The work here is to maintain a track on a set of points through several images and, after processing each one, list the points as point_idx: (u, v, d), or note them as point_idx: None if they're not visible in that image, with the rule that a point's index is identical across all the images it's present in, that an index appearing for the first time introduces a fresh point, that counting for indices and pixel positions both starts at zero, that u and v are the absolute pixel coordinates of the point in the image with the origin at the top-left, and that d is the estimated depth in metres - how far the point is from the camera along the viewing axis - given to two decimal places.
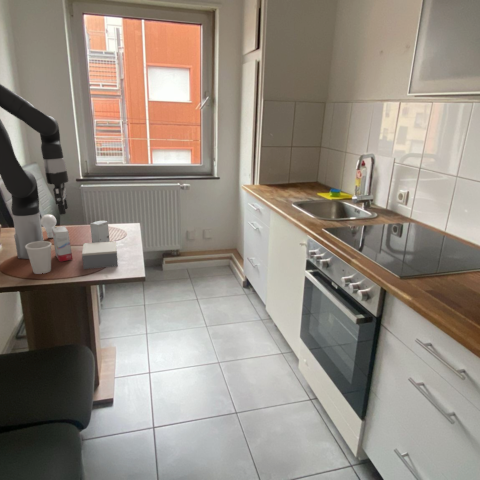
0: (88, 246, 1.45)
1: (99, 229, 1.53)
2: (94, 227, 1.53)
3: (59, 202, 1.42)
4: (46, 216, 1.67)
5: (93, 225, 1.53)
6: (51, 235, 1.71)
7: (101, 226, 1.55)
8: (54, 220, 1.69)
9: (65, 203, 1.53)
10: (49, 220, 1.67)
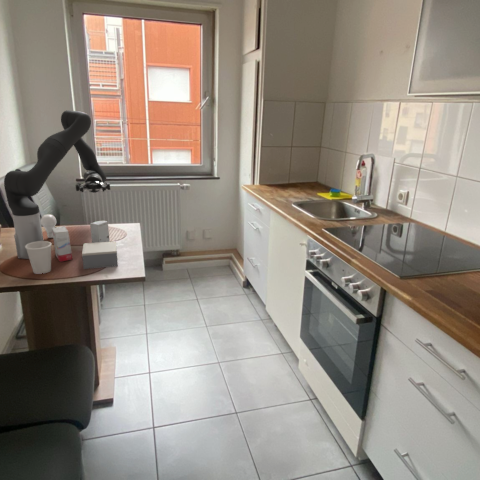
0: (88, 246, 1.45)
1: (99, 229, 1.53)
2: (94, 227, 1.53)
3: None
4: (46, 216, 1.67)
5: (93, 225, 1.53)
6: (51, 235, 1.71)
7: (101, 226, 1.55)
8: (54, 220, 1.69)
9: (83, 190, 1.64)
10: (49, 220, 1.67)
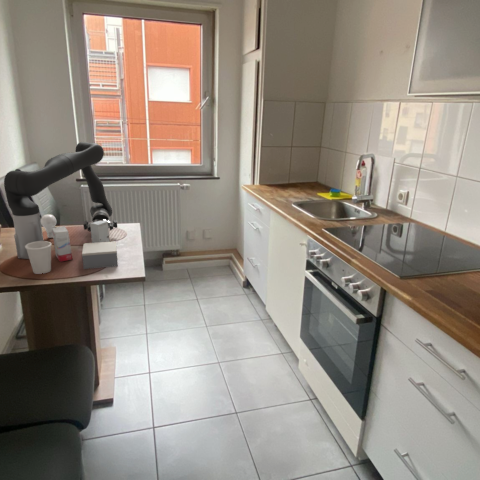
0: (88, 246, 1.45)
1: (99, 229, 1.53)
2: (94, 227, 1.53)
3: None
4: (46, 216, 1.67)
5: (93, 225, 1.53)
6: (51, 235, 1.71)
7: (101, 226, 1.55)
8: (54, 220, 1.69)
9: None
10: (49, 220, 1.67)
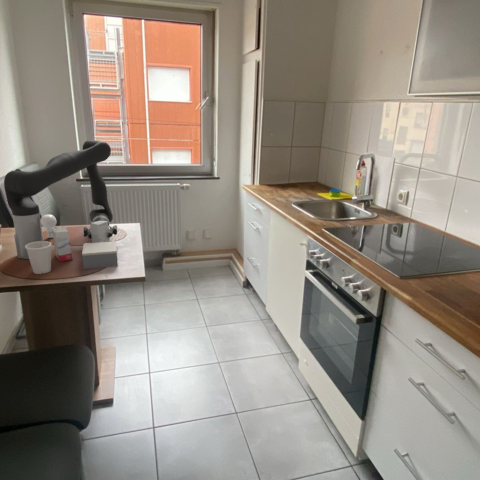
0: (88, 246, 1.45)
1: (99, 229, 1.53)
2: (94, 227, 1.53)
3: None
4: (46, 216, 1.67)
5: (93, 225, 1.53)
6: (51, 235, 1.71)
7: (101, 226, 1.55)
8: (54, 220, 1.69)
9: None
10: (49, 220, 1.67)
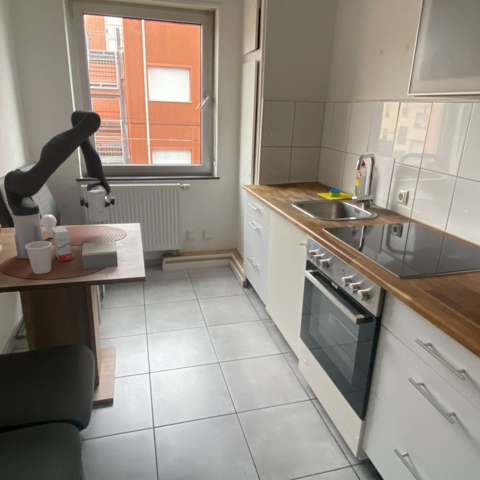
0: (88, 246, 1.45)
1: (96, 197, 1.49)
2: (91, 195, 1.49)
3: None
4: (46, 216, 1.67)
5: (90, 193, 1.49)
6: (51, 235, 1.71)
7: (99, 195, 1.50)
8: (54, 220, 1.69)
9: None
10: (49, 220, 1.67)
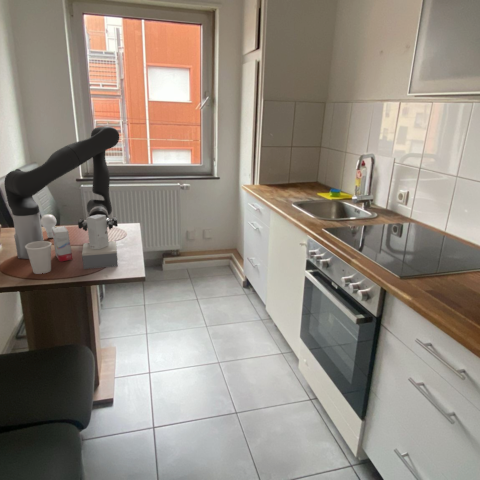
0: (88, 246, 1.45)
1: (97, 224, 1.39)
2: (91, 221, 1.39)
3: None
4: (46, 216, 1.67)
5: (90, 219, 1.39)
6: (51, 235, 1.71)
7: (99, 221, 1.40)
8: (54, 220, 1.69)
9: None
10: (49, 220, 1.67)
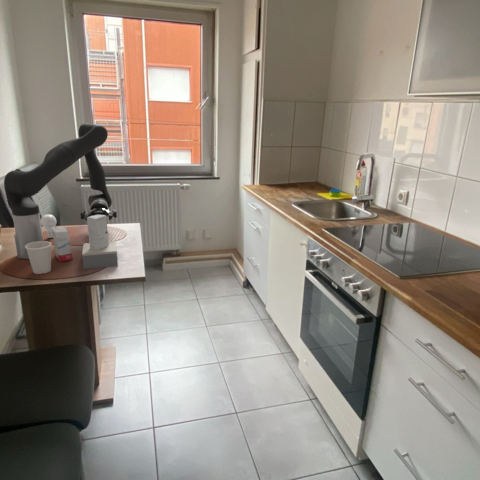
0: (88, 246, 1.45)
1: (97, 224, 1.39)
2: (91, 222, 1.39)
3: None
4: (46, 216, 1.67)
5: (90, 219, 1.39)
6: (51, 235, 1.71)
7: (99, 221, 1.40)
8: (54, 220, 1.69)
9: None
10: (49, 220, 1.67)
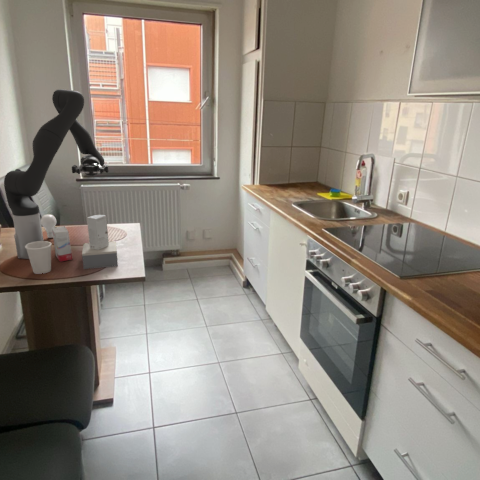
0: (88, 246, 1.45)
1: (97, 224, 1.39)
2: (91, 222, 1.39)
3: None
4: (46, 216, 1.67)
5: (90, 219, 1.39)
6: (51, 235, 1.71)
7: (99, 221, 1.40)
8: (54, 220, 1.69)
9: None
10: (49, 220, 1.67)
